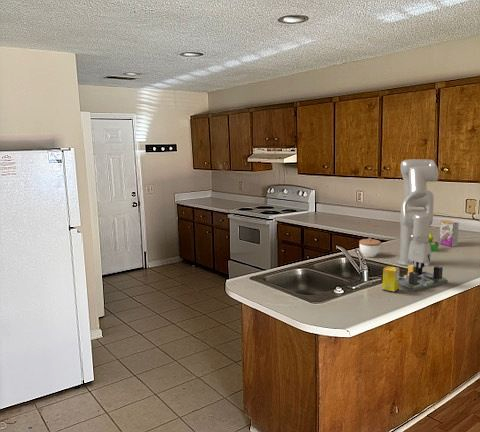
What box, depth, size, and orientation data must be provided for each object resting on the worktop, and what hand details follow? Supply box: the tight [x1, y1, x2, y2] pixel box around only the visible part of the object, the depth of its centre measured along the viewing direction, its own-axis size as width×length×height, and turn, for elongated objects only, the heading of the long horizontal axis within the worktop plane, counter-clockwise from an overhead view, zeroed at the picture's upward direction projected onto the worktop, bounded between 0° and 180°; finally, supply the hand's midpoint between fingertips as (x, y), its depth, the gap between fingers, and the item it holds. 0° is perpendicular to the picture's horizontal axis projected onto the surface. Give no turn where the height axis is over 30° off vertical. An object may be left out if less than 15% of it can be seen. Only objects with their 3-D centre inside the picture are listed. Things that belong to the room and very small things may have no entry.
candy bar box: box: [438, 219, 460, 248], centre depth 296 cm, size 11×5×16 cm, turn 22°
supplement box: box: [382, 265, 400, 294], centre depth 212 cm, size 6×6×11 cm
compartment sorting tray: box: [399, 265, 449, 293], centre depth 222 cm, size 26×14×8 cm, turn 119°
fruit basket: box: [429, 231, 440, 253], centre depth 284 cm, size 11×9×11 cm
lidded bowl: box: [358, 237, 381, 258], centre depth 272 cm, size 13×13×11 cm
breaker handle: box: [407, 265, 415, 276], centre depth 225 cm, size 3×3×6 cm
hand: (418, 274), depth 222 cm, fingers closed
